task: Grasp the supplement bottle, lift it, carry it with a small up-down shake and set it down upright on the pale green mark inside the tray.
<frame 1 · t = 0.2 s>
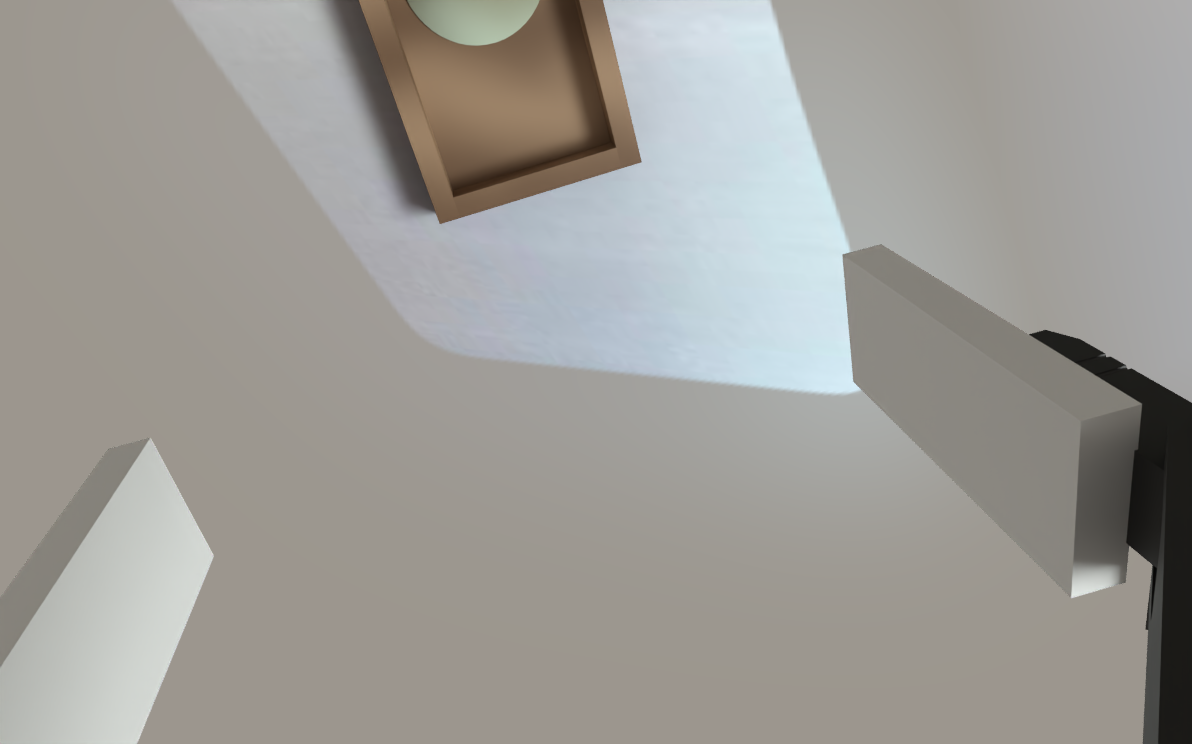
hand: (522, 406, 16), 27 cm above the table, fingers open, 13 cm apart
tray: (486, 14, 38), on the table
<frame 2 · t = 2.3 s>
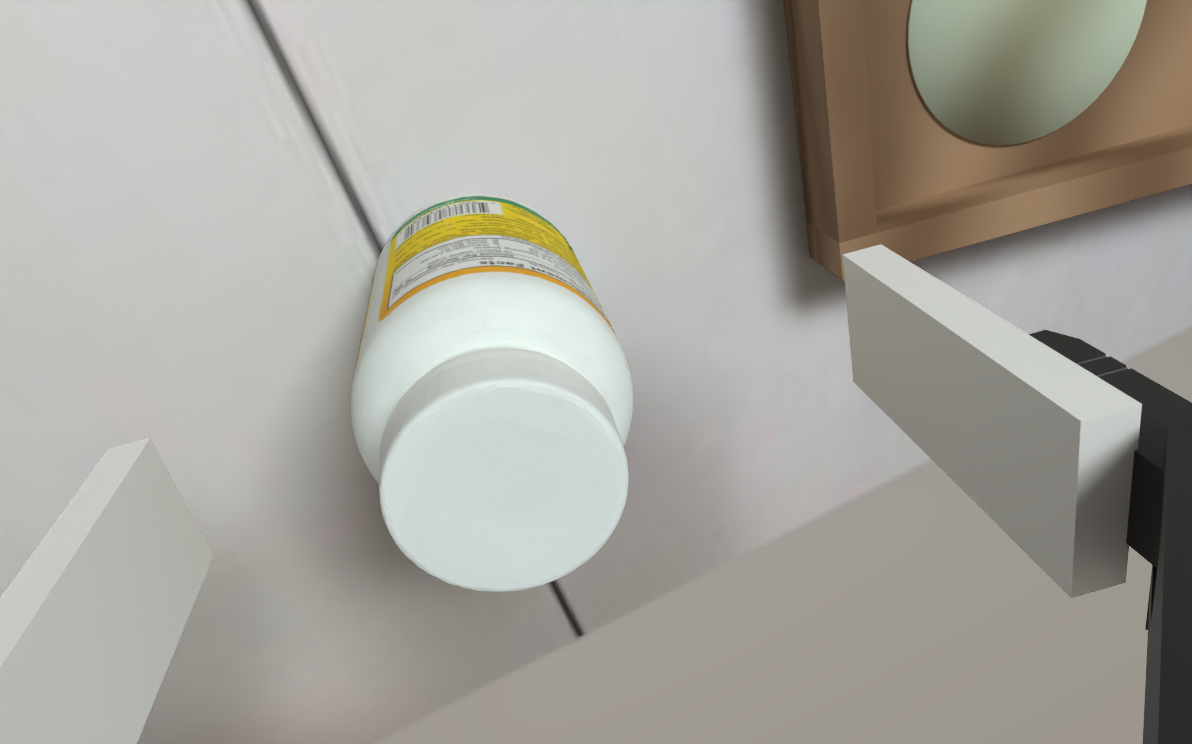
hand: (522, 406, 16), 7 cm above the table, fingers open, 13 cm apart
supplement bottle: (477, 289, 22), on the table
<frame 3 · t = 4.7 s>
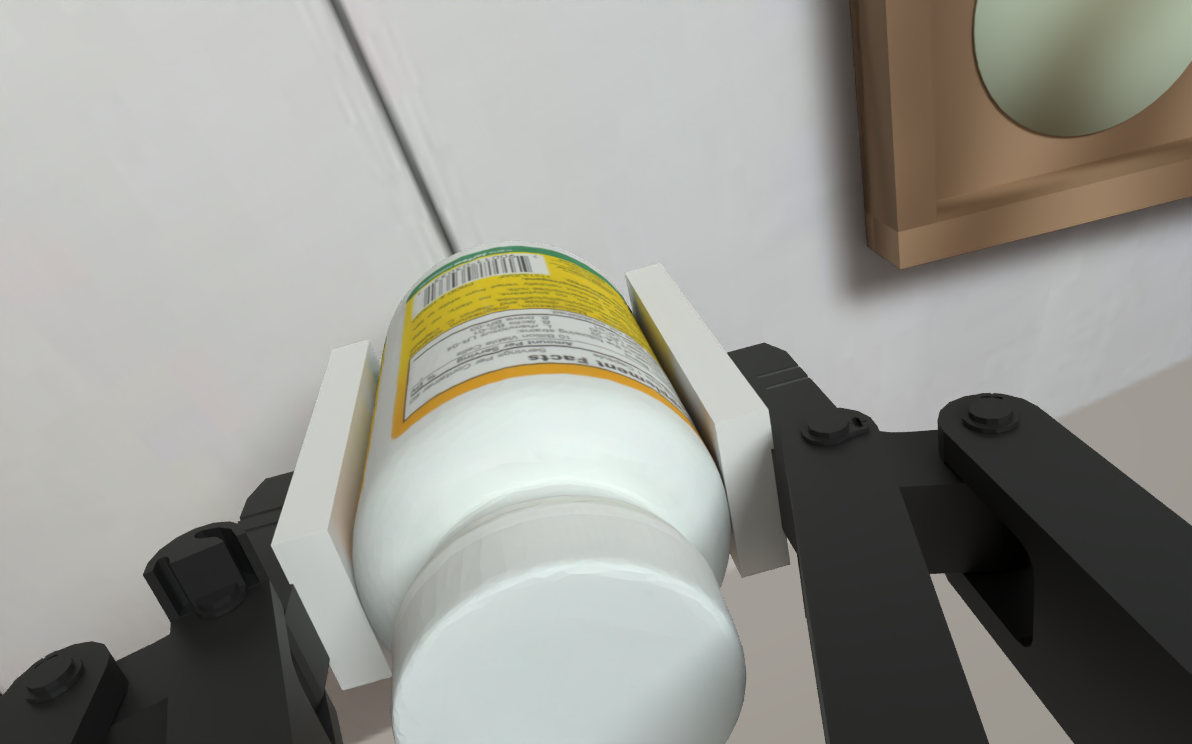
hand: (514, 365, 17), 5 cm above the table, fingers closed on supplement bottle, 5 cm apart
supplement bottle: (511, 354, 18), point 5 cm above the table, touching gripper
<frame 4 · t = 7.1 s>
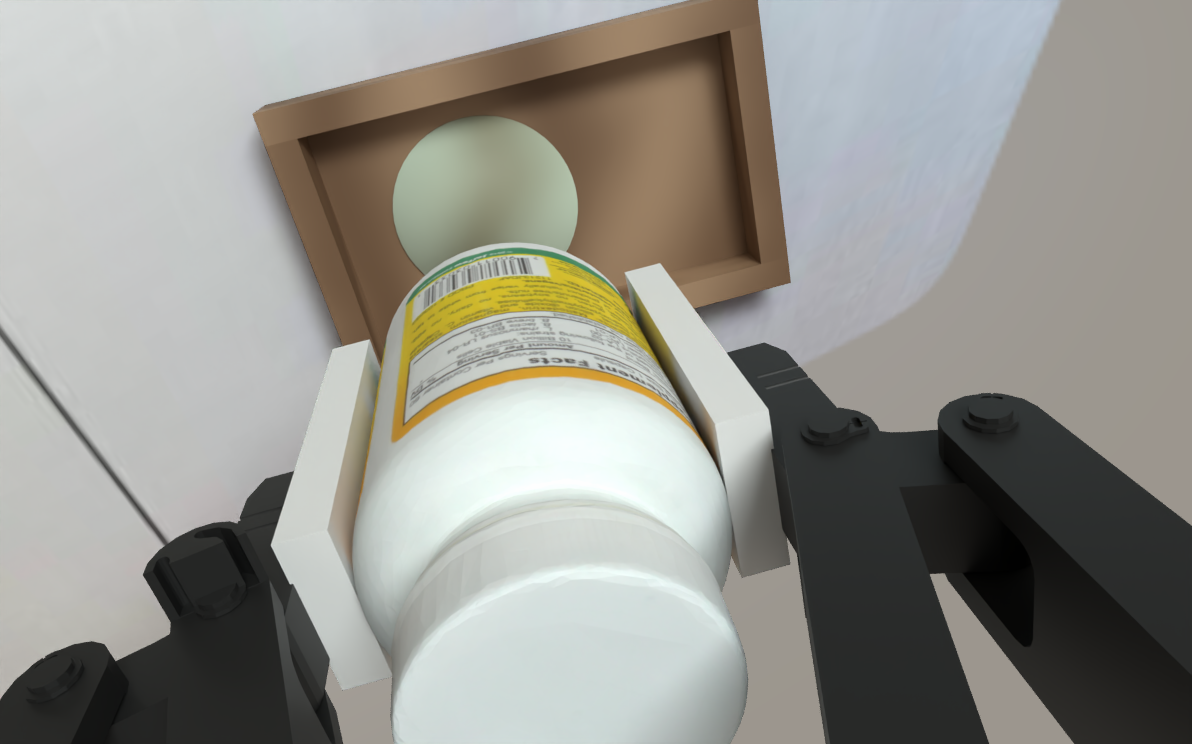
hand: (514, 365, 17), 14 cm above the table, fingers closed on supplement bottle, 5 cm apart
tray: (540, 192, 30), on the table
supplement bottle: (511, 356, 18), point 13 cm above the table, touching gripper
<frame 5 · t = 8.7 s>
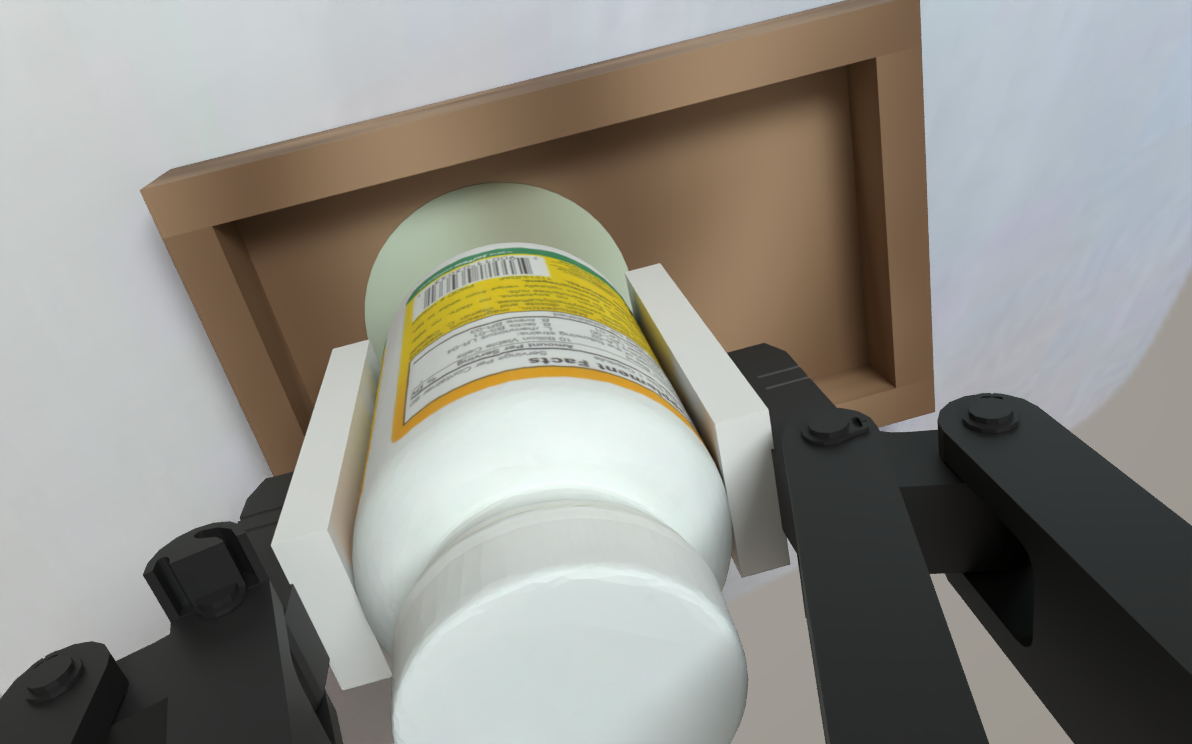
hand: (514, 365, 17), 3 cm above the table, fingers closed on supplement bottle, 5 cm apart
tray: (580, 287, 21), on the table
supplement bottle: (511, 356, 18), point 3 cm above the table, touching gripper
when the fingers open (2 cm above the table, at t = 9.7 s): supplement bottle drops 1 cm, resting on tray.
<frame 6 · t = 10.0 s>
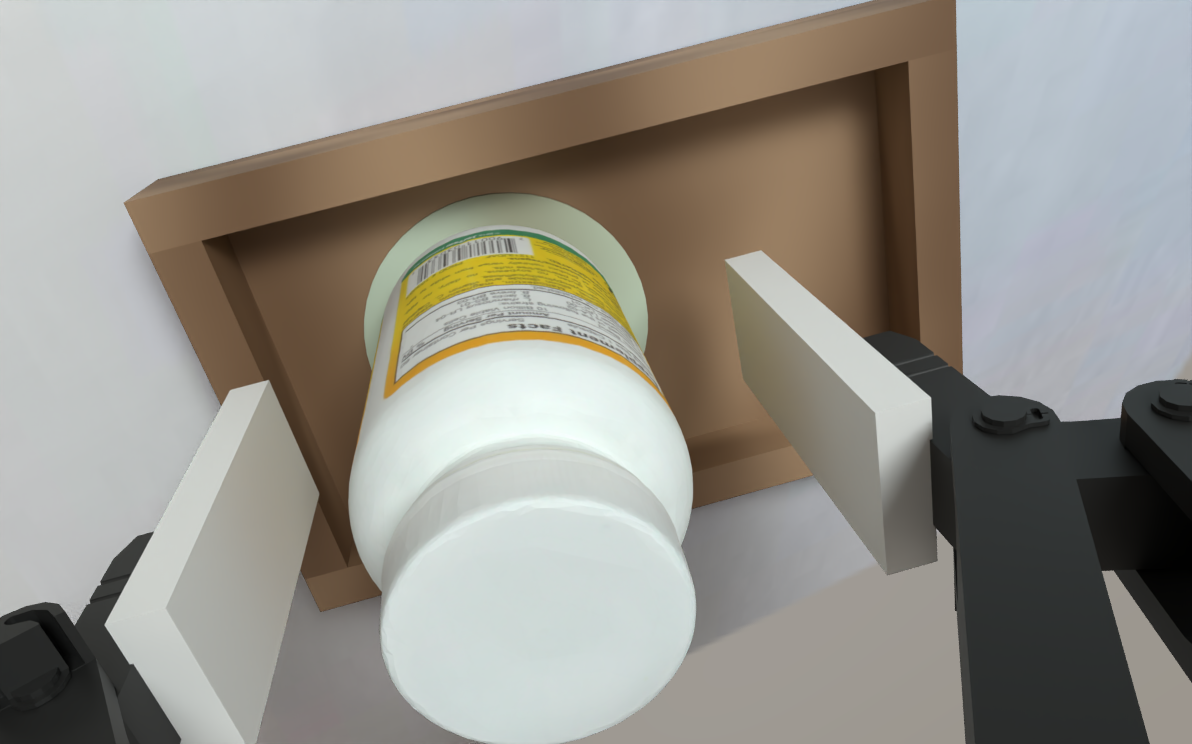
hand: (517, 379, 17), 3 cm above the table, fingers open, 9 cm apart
tray: (591, 302, 20), on the table
supplement bottle: (501, 333, 19), resting on tray
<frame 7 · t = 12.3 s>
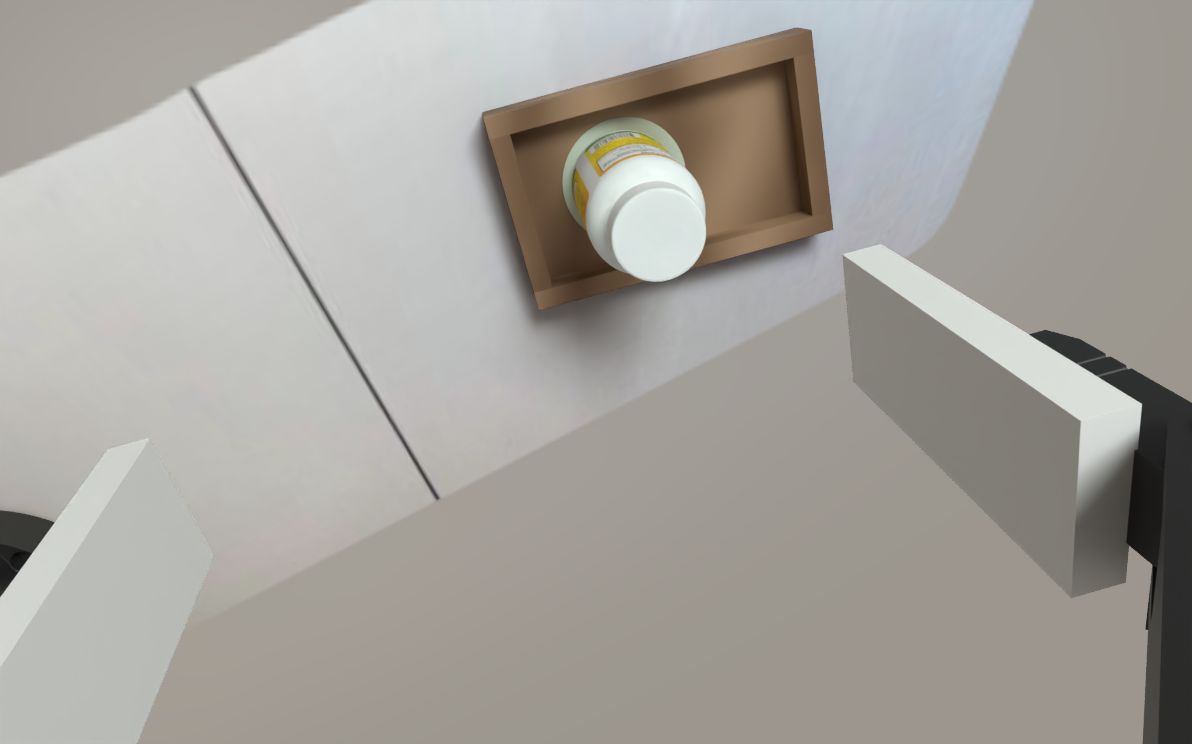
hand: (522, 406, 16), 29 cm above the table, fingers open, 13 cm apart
tray: (660, 168, 43), on the table
supplement bottle: (620, 181, 43), resting on tray
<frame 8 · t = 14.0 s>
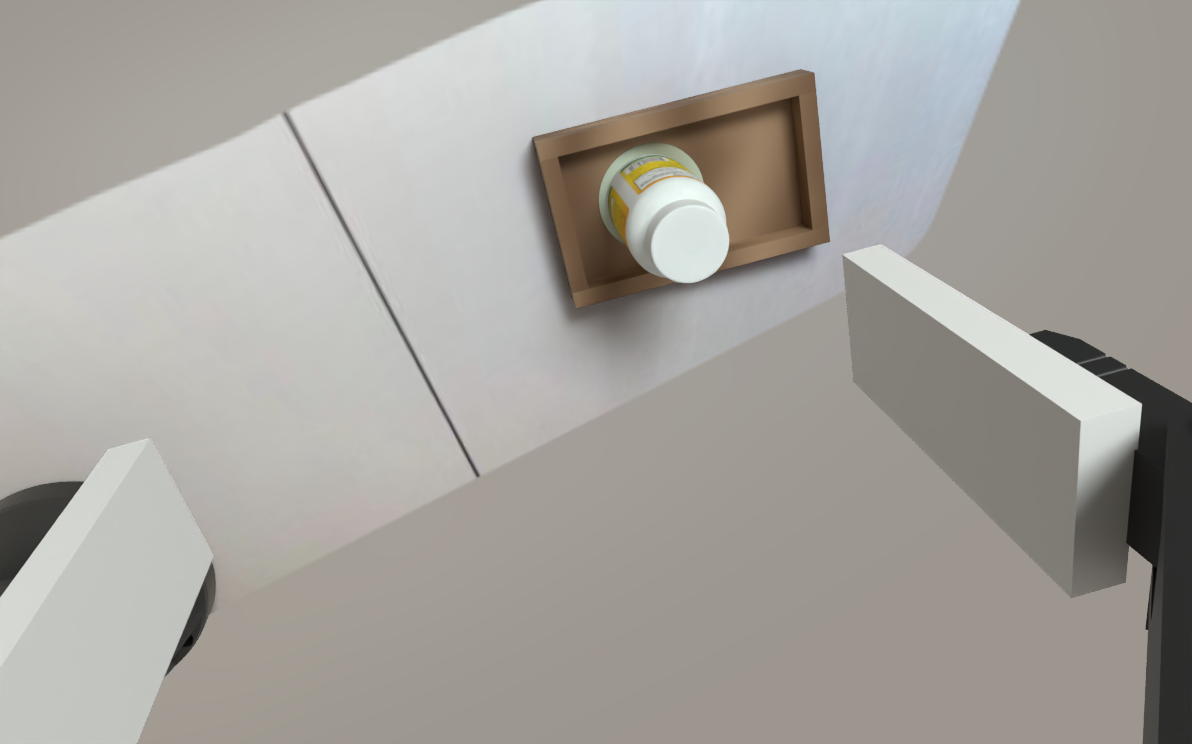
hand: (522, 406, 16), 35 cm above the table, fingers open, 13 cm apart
tray: (682, 187, 50), on the table
supplement bottle: (648, 198, 50), resting on tray
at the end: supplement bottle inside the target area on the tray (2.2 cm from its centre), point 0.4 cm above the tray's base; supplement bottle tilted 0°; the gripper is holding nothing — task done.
